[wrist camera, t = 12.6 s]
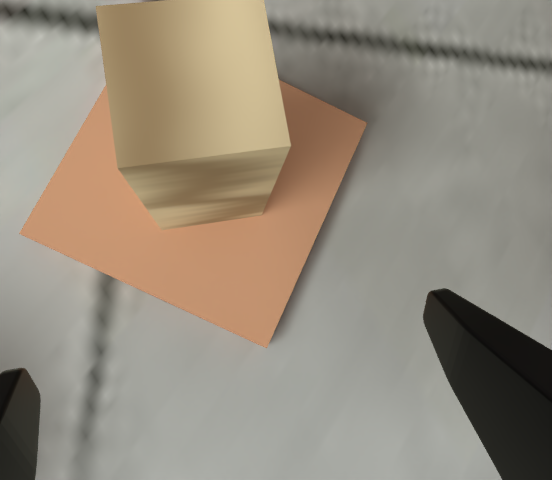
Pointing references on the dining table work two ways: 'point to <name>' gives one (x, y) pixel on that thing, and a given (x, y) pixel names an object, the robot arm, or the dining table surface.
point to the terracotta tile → (206, 237)
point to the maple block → (194, 107)
